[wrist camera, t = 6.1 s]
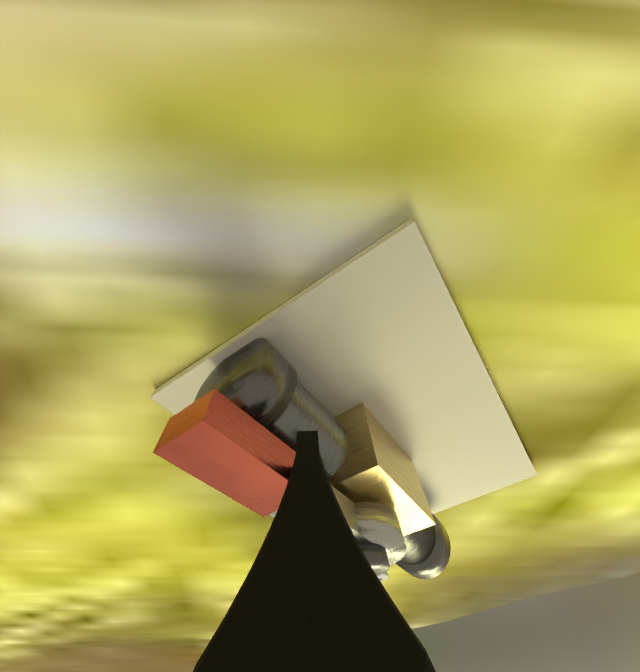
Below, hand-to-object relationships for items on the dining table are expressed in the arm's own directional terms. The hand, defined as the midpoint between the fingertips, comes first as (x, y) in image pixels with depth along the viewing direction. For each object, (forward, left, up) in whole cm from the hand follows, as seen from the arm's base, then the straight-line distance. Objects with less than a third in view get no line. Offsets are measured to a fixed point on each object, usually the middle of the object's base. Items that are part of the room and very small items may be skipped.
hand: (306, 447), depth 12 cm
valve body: (-2, -7, -6) cm, 10 cm away
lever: (-2, -3, -1) cm, 4 cm away
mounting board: (0, -7, -6) cm, 9 cm away
